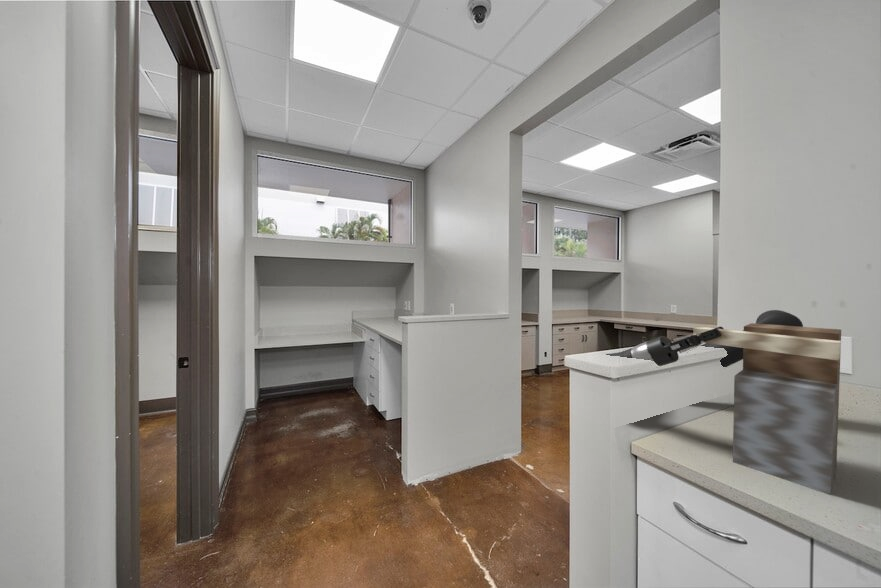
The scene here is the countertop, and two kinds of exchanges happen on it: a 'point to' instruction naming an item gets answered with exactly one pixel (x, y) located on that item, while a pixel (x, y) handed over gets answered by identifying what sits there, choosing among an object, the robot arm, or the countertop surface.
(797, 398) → the stepped pedestal
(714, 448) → the countertop surface
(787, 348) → the ash bar
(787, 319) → the robot arm
